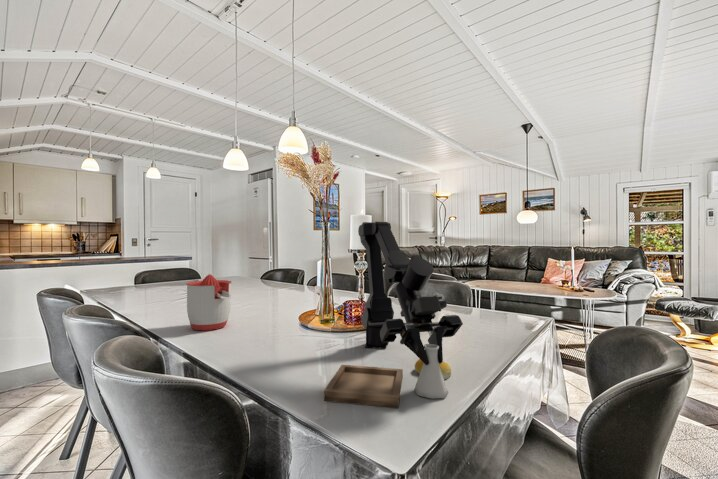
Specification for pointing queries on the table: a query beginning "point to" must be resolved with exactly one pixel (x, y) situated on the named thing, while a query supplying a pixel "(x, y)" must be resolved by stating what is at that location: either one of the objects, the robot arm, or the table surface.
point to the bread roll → (443, 366)
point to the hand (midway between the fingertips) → (434, 363)
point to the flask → (431, 376)
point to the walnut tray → (365, 386)
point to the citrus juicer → (208, 303)
